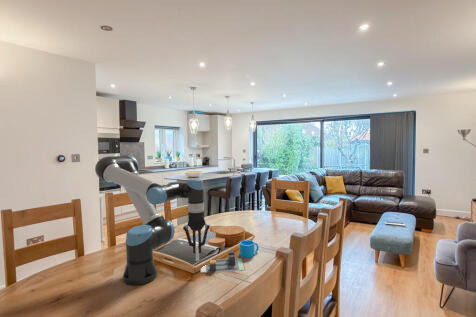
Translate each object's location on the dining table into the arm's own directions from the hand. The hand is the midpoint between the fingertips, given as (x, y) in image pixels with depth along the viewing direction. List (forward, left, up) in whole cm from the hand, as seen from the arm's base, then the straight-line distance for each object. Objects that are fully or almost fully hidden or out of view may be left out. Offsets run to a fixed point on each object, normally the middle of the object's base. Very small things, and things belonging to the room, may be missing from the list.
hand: (197, 259), depth 127 cm
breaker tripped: (+7, 0, -6) cm, 9 cm away
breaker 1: (+17, +10, -6) cm, 21 cm away
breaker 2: (+17, +5, -6) cm, 19 cm away
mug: (+28, +17, -8) cm, 34 cm away
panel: (+12, +5, -7) cm, 15 cm away
